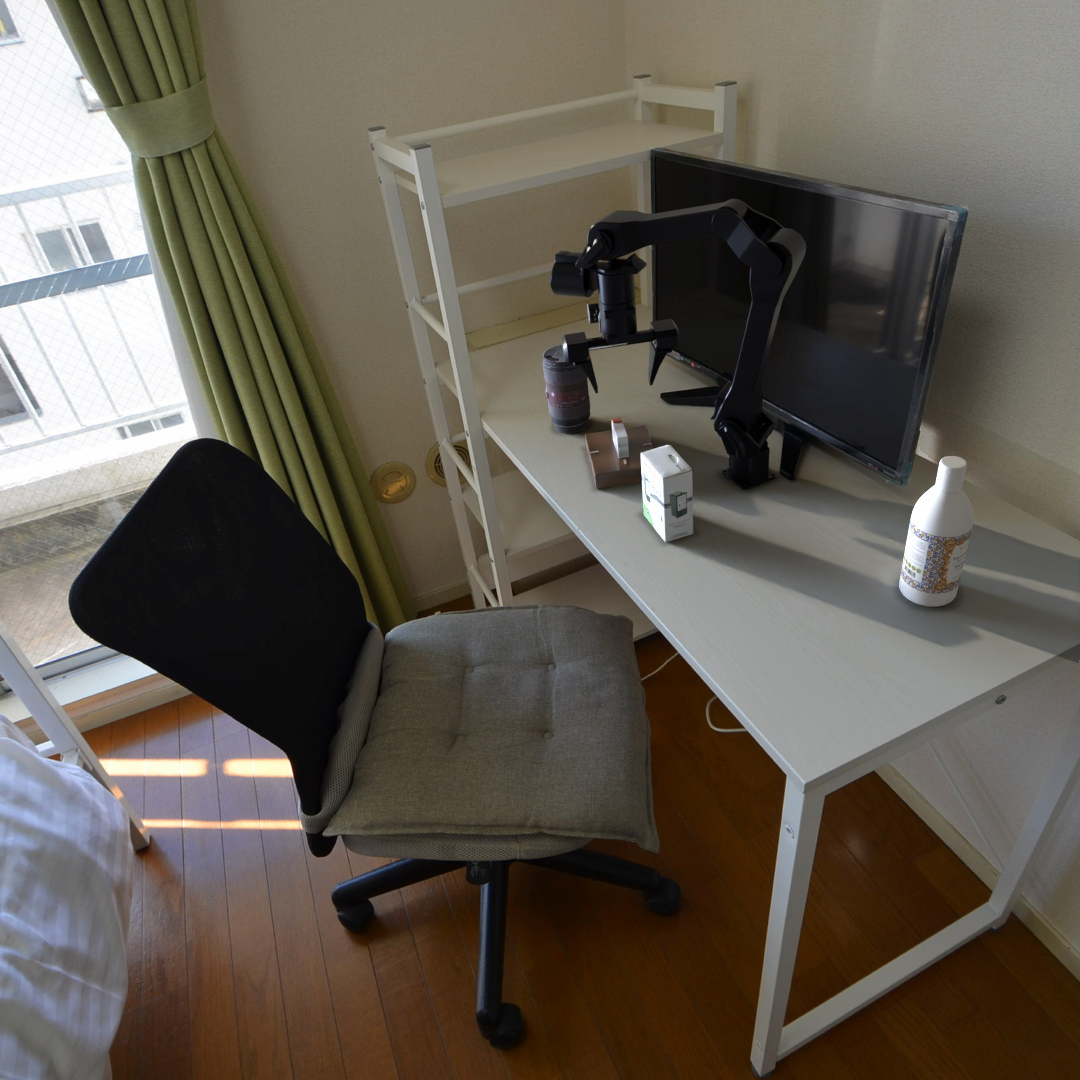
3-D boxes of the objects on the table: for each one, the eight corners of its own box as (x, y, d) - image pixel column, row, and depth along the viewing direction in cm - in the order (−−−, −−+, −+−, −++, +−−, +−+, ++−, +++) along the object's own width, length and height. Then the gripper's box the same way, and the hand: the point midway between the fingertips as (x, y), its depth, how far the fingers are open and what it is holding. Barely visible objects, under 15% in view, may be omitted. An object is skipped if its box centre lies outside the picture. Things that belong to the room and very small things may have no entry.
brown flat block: (660, 479, 135) (660, 463, 134) (596, 489, 136) (594, 473, 134) (645, 439, 147) (644, 424, 145) (586, 448, 147) (584, 433, 145)
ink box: (642, 514, 128) (638, 450, 121) (670, 505, 129) (668, 442, 122) (664, 543, 121) (662, 477, 114) (694, 534, 122) (693, 468, 115)
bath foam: (934, 616, 102) (963, 484, 90) (887, 590, 107) (908, 462, 95) (967, 591, 105) (999, 461, 93) (919, 567, 110) (944, 440, 98)
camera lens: (571, 439, 150) (562, 365, 141) (542, 427, 155) (532, 355, 146) (601, 422, 154) (594, 349, 145) (572, 411, 159) (564, 339, 150)
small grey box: (629, 457, 137) (627, 435, 134) (618, 458, 137) (617, 436, 134) (623, 438, 142) (621, 417, 140) (613, 440, 142) (611, 418, 140)
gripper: (666, 273, 133) (669, 360, 142) (554, 290, 133) (564, 376, 142) (679, 296, 124) (682, 388, 133) (559, 314, 124) (570, 404, 133)
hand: (623, 388), depth 135 cm, fingers open, 9 cm apart
